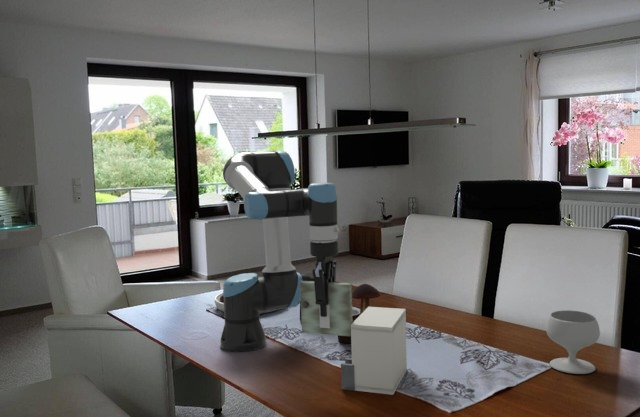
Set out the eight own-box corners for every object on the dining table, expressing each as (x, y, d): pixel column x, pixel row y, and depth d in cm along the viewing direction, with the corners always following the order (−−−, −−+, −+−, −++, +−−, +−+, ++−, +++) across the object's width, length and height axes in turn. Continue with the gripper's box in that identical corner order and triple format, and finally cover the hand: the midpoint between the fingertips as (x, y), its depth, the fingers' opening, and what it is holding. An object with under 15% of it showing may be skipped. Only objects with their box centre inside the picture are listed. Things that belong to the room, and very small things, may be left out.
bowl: (249, 295, 262) (248, 278, 262) (301, 303, 245) (300, 285, 244) (199, 311, 238) (198, 292, 237) (253, 321, 221) (252, 301, 220)
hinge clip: (341, 389, 155) (340, 356, 154) (347, 381, 160) (347, 349, 159) (355, 391, 153) (354, 358, 152) (361, 382, 159) (360, 350, 158)
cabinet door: (300, 333, 158) (299, 283, 156) (304, 330, 160) (302, 280, 159) (349, 337, 153) (348, 285, 152) (352, 334, 156) (351, 283, 154)
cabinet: (352, 390, 154) (350, 324, 152) (369, 365, 171) (368, 306, 169) (393, 394, 150) (391, 327, 148) (406, 369, 167) (405, 308, 165)
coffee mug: (358, 346, 188) (358, 316, 187) (332, 345, 190) (332, 315, 189) (363, 334, 200) (362, 306, 199) (338, 334, 201) (338, 306, 200)
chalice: (539, 358, 172) (539, 309, 171) (586, 357, 172) (587, 308, 170) (556, 377, 158) (557, 323, 157) (608, 376, 158) (609, 322, 156)
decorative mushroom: (347, 326, 209) (346, 286, 208) (356, 318, 219) (355, 279, 218) (376, 329, 205) (375, 288, 204) (384, 320, 215) (383, 281, 214)
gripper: (328, 245, 146) (331, 335, 148) (345, 236, 160) (348, 319, 163) (300, 244, 149) (303, 333, 151) (320, 236, 163) (323, 317, 165)
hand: (326, 325), depth 157 cm, fingers closed on cabinet door, 2 cm apart
